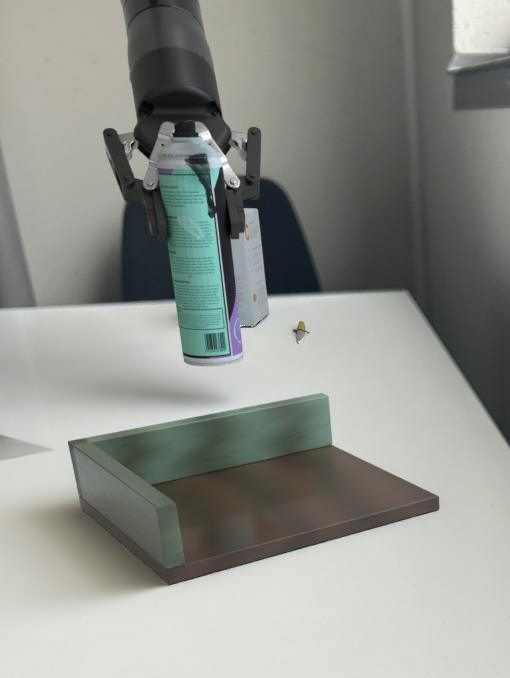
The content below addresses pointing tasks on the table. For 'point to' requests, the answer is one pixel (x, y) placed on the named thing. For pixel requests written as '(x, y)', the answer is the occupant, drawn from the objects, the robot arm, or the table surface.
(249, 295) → the small box
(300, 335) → the dagger
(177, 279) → the spray can
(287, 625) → the table surface
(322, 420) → the corner board
